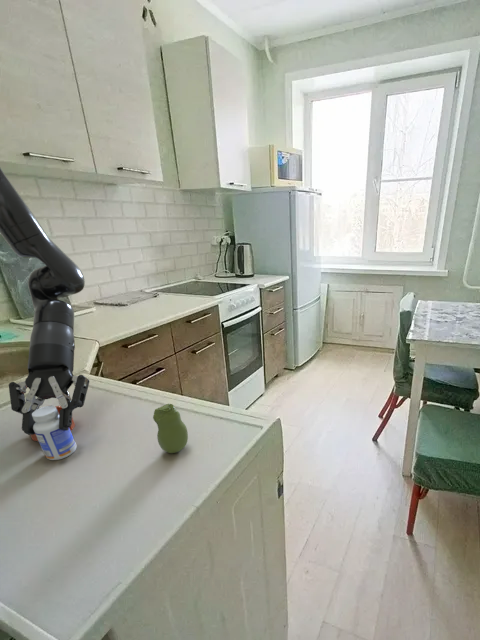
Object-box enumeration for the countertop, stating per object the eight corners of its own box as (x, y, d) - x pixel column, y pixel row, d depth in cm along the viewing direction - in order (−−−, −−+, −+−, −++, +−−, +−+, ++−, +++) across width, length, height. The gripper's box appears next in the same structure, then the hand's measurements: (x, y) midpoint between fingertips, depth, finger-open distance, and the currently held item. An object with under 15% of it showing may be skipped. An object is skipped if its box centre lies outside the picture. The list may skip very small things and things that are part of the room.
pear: (170, 462, 66) (158, 416, 61) (155, 451, 69) (144, 407, 64) (195, 448, 69) (186, 404, 65) (180, 438, 72) (171, 395, 68)
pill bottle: (79, 442, 73) (63, 401, 69) (74, 457, 69) (57, 414, 64) (50, 448, 72) (32, 406, 67) (42, 464, 67) (23, 420, 63)
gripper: (1, 345, 67) (-10, 433, 61) (81, 337, 68) (77, 422, 63) (25, 360, 74) (18, 440, 68) (97, 353, 76) (96, 430, 70)
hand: (46, 431), depth 66 cm, fingers closed on pill bottle, 5 cm apart
